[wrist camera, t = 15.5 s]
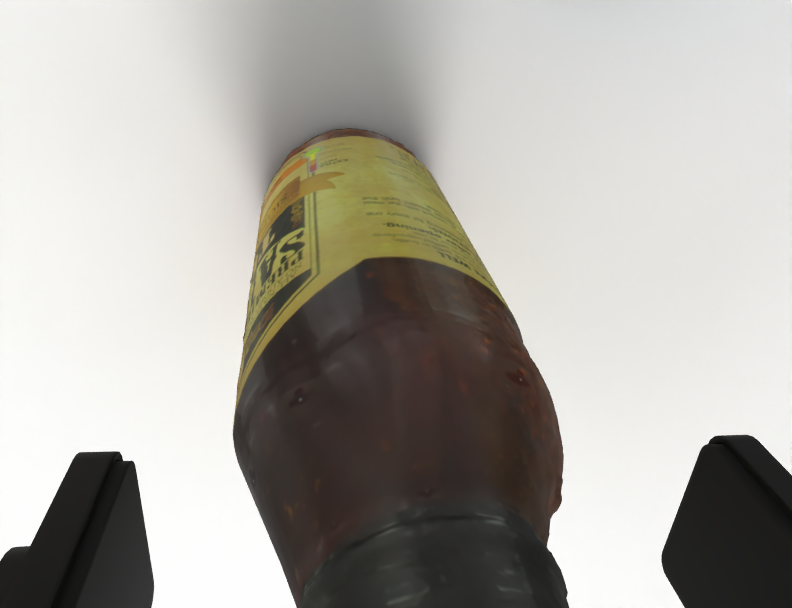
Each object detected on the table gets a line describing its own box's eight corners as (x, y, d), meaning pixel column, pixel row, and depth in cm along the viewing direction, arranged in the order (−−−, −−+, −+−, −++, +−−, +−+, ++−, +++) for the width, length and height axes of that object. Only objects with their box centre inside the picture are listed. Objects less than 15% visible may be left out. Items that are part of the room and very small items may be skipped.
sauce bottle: (260, 117, 21) (50, 905, 3) (444, 126, 22) (1049, 766, 4) (264, 294, 24) (170, 1191, 6) (426, 294, 25) (733, 1072, 7)
